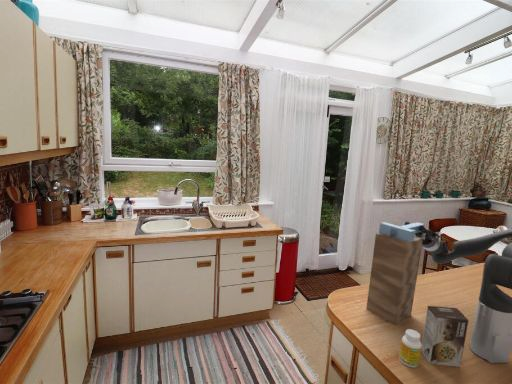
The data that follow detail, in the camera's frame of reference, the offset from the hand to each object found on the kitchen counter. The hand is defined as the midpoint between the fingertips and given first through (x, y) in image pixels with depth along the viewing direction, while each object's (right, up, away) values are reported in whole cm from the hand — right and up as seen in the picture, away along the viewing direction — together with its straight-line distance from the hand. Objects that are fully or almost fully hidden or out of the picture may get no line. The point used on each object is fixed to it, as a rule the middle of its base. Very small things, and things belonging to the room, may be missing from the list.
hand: (413, 225), depth 114 cm
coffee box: (-5, -40, -24) cm, 46 cm away
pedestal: (-10, -35, +1) cm, 36 cm away
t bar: (-3, -3, -2) cm, 5 cm away
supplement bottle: (-16, -39, -26) cm, 50 cm away
